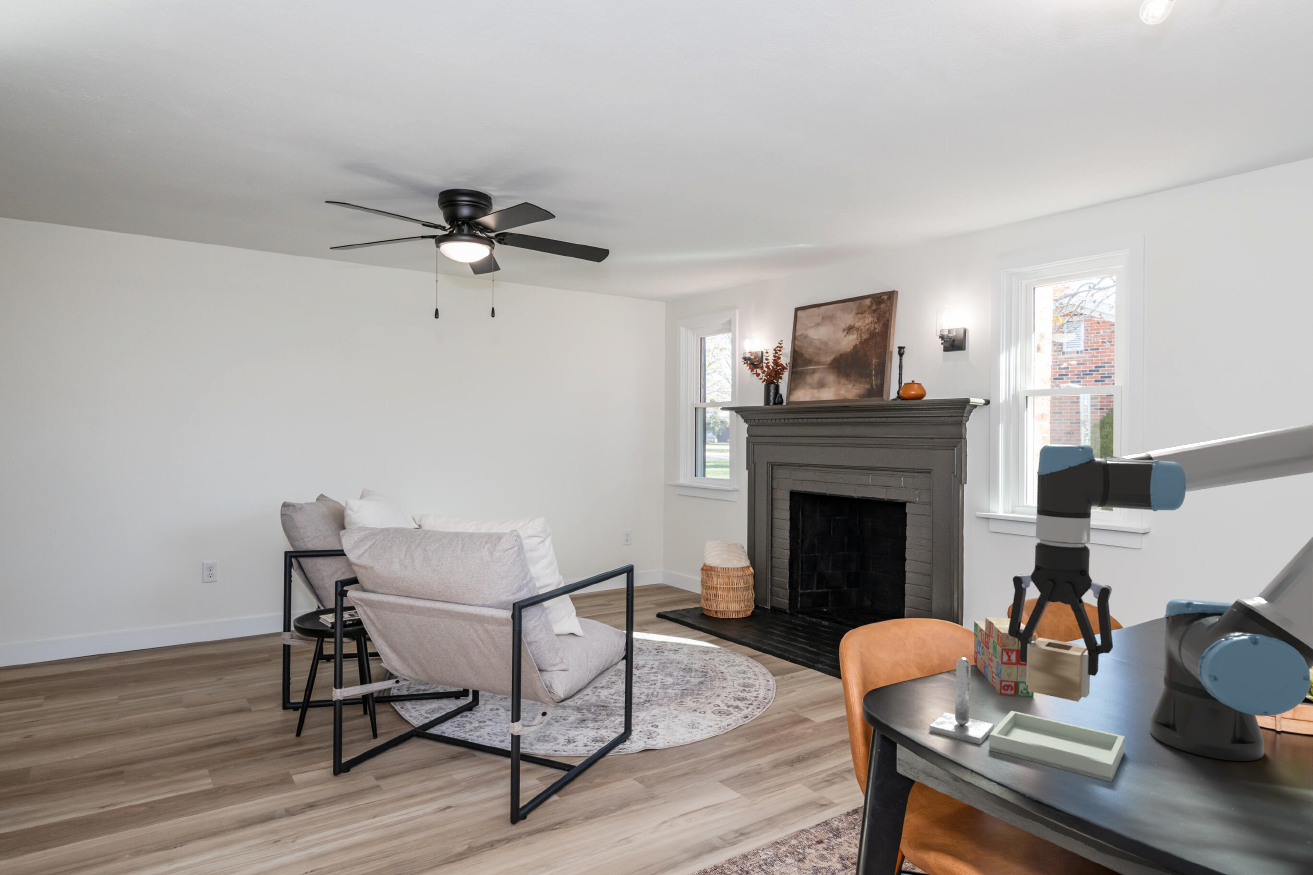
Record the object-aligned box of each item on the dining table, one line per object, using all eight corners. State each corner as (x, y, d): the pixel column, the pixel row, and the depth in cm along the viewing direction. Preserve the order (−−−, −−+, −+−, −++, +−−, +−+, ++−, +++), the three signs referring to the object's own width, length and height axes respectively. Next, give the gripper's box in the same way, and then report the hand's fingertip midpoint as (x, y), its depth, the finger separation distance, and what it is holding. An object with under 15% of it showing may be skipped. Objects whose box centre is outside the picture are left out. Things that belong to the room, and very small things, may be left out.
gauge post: (993, 729, 128) (995, 657, 128) (980, 744, 122) (982, 668, 122) (944, 717, 133) (946, 648, 133) (929, 731, 127) (931, 658, 126)
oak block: (1086, 690, 120) (1088, 645, 120) (1078, 701, 115) (1079, 655, 115) (1037, 680, 125) (1039, 637, 125) (1027, 690, 119) (1029, 646, 119)
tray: (1124, 752, 120) (1124, 736, 120) (1111, 781, 109) (1111, 764, 109) (1010, 725, 130) (1011, 710, 130) (989, 750, 120) (989, 734, 120)
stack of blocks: (972, 662, 167) (974, 606, 167) (1003, 665, 166) (1004, 608, 166) (999, 695, 146) (1001, 631, 146) (1034, 698, 145) (1036, 633, 145)
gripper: (1140, 548, 116) (1134, 698, 117) (1000, 534, 129) (996, 669, 129) (1133, 553, 110) (1128, 711, 111) (988, 538, 123) (983, 680, 123)
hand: (1057, 688), depth 120 cm, fingers closed on oak block, 7 cm apart
